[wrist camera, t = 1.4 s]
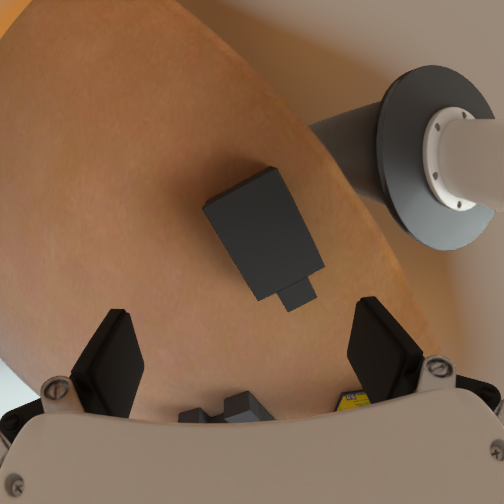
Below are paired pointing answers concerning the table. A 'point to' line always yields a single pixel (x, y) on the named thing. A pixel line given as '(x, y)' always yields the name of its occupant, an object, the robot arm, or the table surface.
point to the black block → (266, 238)
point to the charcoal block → (231, 412)
